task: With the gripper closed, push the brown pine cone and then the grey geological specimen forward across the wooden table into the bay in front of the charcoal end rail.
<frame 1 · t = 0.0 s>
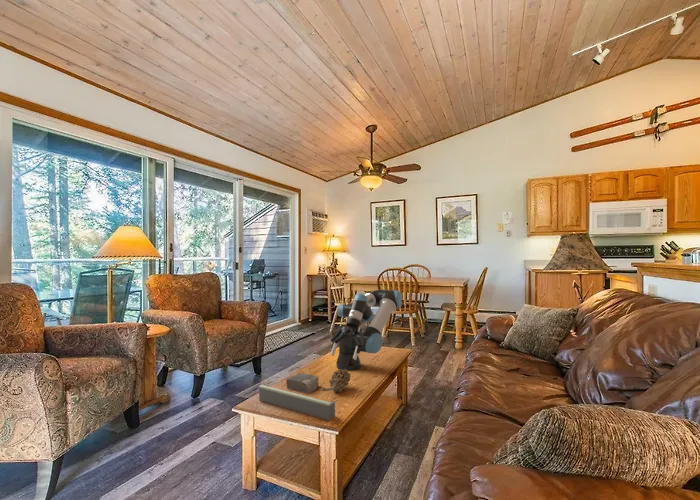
hand: (343, 357, 171), 15 cm above the table, tool tilted 35°, fingers open, 13 cm apart
end rail: (304, 401, 153), on the table
pine cone: (336, 393, 164), on the table
geological specimen: (303, 388, 171), on the table
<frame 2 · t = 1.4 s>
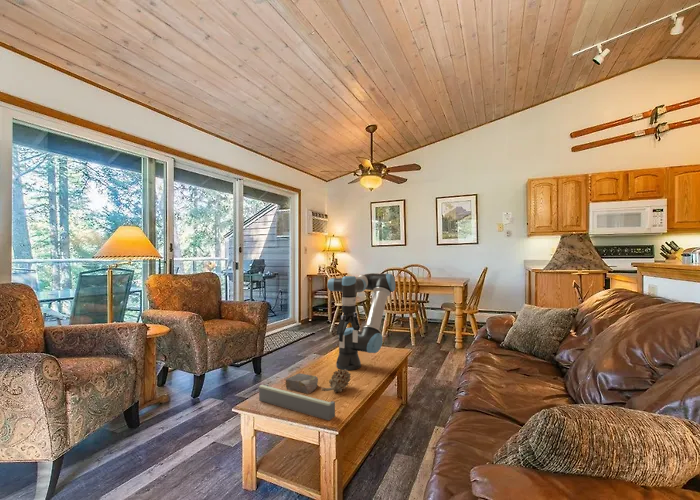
hand: (348, 344, 175), 21 cm above the table, tool pointing down, fingers open, 13 cm apart
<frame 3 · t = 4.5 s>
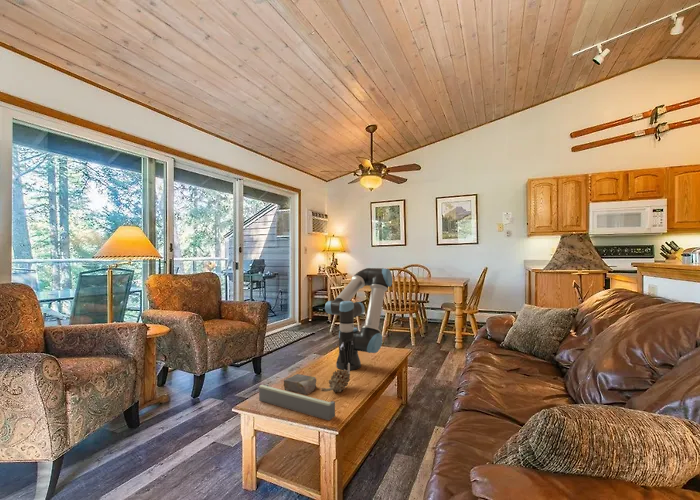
hand: (346, 375, 173), 5 cm above the table, tool pointing down, fingers closed
pine cone: (335, 393, 163), on the table, touching gripper
geological specimen: (301, 389, 169), on the table
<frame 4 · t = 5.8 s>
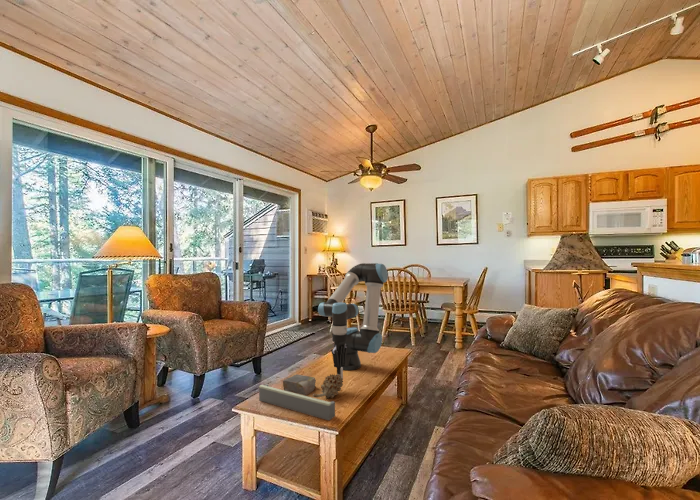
hand: (339, 379, 167), 5 cm above the table, tool pointing down, fingers closed
pine cone: (327, 399, 157), on the table, touching gripper
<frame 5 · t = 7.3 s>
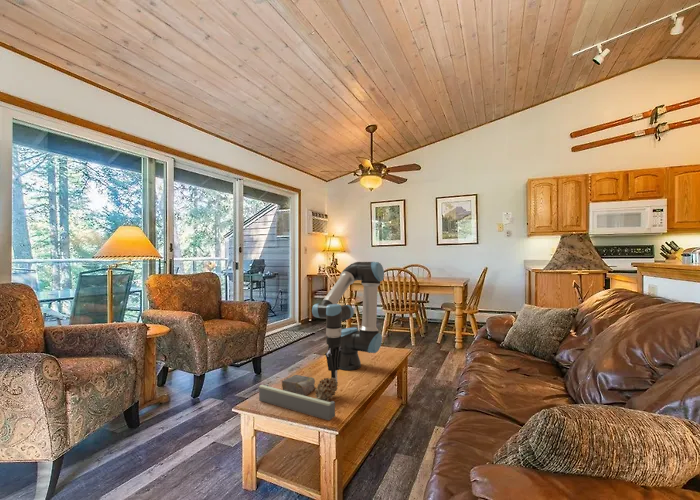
hand: (334, 383, 162), 5 cm above the table, tool pointing down, fingers closed
pine cone: (322, 403, 152), on the table, touching end rail, gripper
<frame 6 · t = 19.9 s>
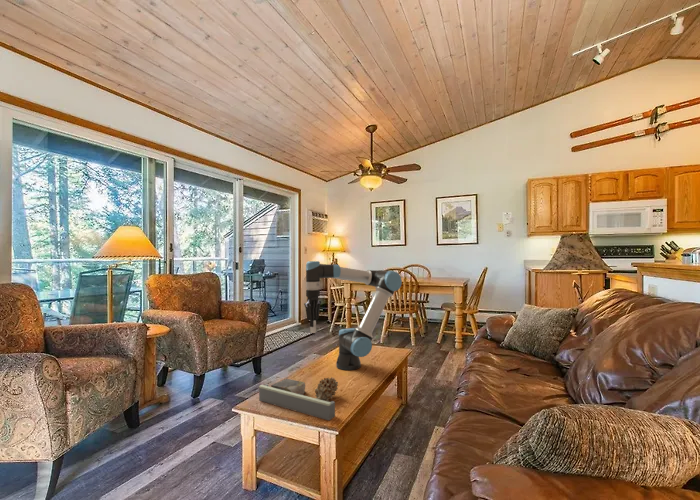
hand: (313, 332, 180), 26 cm above the table, tool pointing down, fingers closed
pine cone: (322, 403, 152), on the table
geological specimen: (289, 394, 163), on the table
at the end: pine cone inside the target area on the end rail (2.7 cm from its centre), point 0.0 cm above the end rail's base; geological specimen inside the target area on the end rail (2.9 cm from its centre), point -0.5 cm above the end rail's base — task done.
